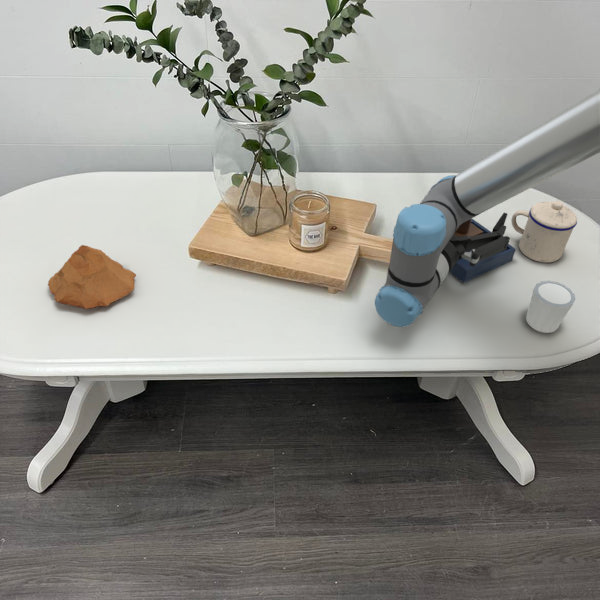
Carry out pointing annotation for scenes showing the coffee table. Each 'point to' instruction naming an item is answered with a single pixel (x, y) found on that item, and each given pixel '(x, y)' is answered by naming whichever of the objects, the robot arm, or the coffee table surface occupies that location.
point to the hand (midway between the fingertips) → (472, 207)
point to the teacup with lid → (545, 230)
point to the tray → (468, 272)
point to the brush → (468, 229)
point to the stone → (91, 280)
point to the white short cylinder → (549, 306)
